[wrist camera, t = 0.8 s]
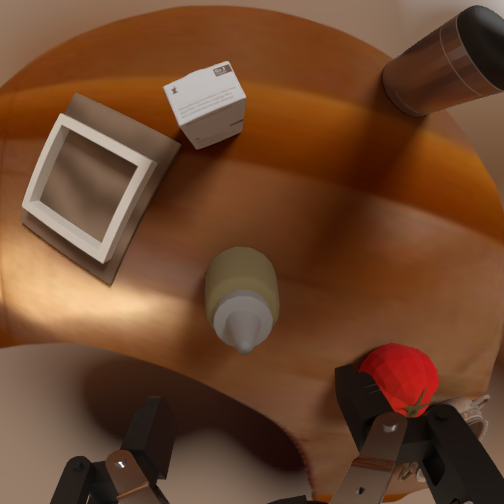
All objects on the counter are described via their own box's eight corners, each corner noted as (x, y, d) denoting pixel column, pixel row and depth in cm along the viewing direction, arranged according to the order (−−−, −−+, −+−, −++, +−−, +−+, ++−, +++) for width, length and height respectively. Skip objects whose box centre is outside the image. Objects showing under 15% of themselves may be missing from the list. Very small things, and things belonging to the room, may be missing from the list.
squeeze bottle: (262, 309, 37) (282, 400, 20) (201, 294, 36) (174, 379, 19) (280, 250, 36) (322, 306, 18) (216, 232, 35) (197, 275, 17)
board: (78, 94, 30) (75, 92, 29) (182, 145, 32) (180, 144, 32) (23, 220, 33) (20, 221, 32) (112, 283, 35) (110, 285, 35)
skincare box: (197, 151, 33) (177, 131, 21) (183, 119, 32) (158, 87, 20) (244, 131, 33) (249, 101, 21) (230, 100, 32) (227, 58, 20)
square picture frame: (69, 116, 30) (60, 113, 27) (157, 163, 32) (152, 161, 29) (31, 204, 32) (21, 206, 29) (111, 258, 34) (102, 263, 31)
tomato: (415, 363, 41) (456, 407, 28) (354, 400, 42) (383, 455, 29) (401, 313, 39) (452, 354, 26) (331, 355, 39) (364, 413, 26)
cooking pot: (452, 358, 42) (489, 391, 30) (478, 387, 45) (507, 415, 33) (362, 447, 45) (382, 490, 33) (404, 461, 48) (423, 494, 36)
